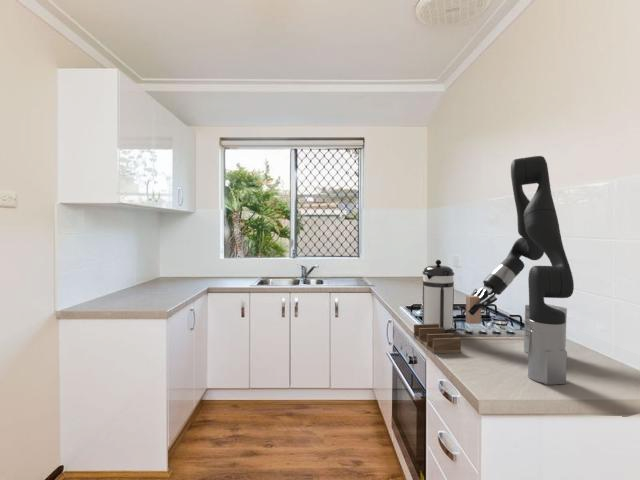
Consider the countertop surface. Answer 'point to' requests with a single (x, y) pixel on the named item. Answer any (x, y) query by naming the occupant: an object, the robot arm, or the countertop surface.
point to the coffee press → (438, 295)
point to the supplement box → (526, 332)
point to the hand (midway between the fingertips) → (468, 312)
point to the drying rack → (437, 338)
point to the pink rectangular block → (469, 304)
